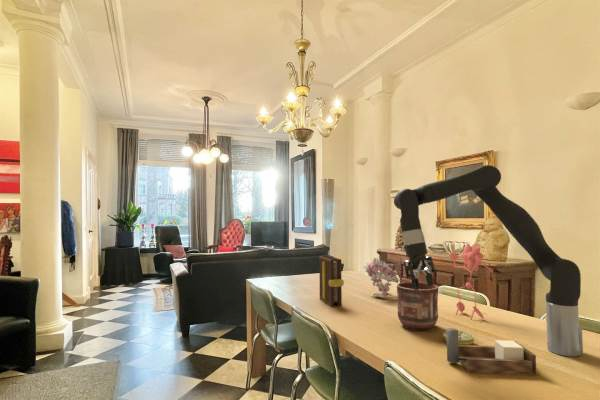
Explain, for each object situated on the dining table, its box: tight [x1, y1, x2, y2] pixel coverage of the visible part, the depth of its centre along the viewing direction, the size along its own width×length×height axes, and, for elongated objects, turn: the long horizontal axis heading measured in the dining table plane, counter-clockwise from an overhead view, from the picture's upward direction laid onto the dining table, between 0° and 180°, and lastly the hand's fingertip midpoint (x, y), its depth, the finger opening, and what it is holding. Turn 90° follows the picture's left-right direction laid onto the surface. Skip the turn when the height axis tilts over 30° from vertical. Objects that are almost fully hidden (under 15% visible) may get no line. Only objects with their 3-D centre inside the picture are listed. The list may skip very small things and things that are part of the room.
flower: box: [362, 257, 401, 299], centre depth 208 cm, size 20×22×25 cm
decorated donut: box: [442, 330, 475, 346], centre depth 132 cm, size 10×11×4 cm
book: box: [318, 255, 345, 308], centre depth 193 cm, size 22×8×25 cm, turn 17°
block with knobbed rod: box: [445, 327, 524, 364], centre depth 112 cm, size 22×6×10 cm, turn 84°
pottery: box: [396, 281, 440, 332], centre depth 151 cm, size 18×18×18 cm
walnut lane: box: [459, 340, 537, 376], centre depth 112 cm, size 20×12×6 cm, turn 84°
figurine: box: [449, 243, 493, 324], centre depth 167 cm, size 15×26×35 cm, turn 19°
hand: (424, 287), depth 123 cm, fingers open, 8 cm apart
